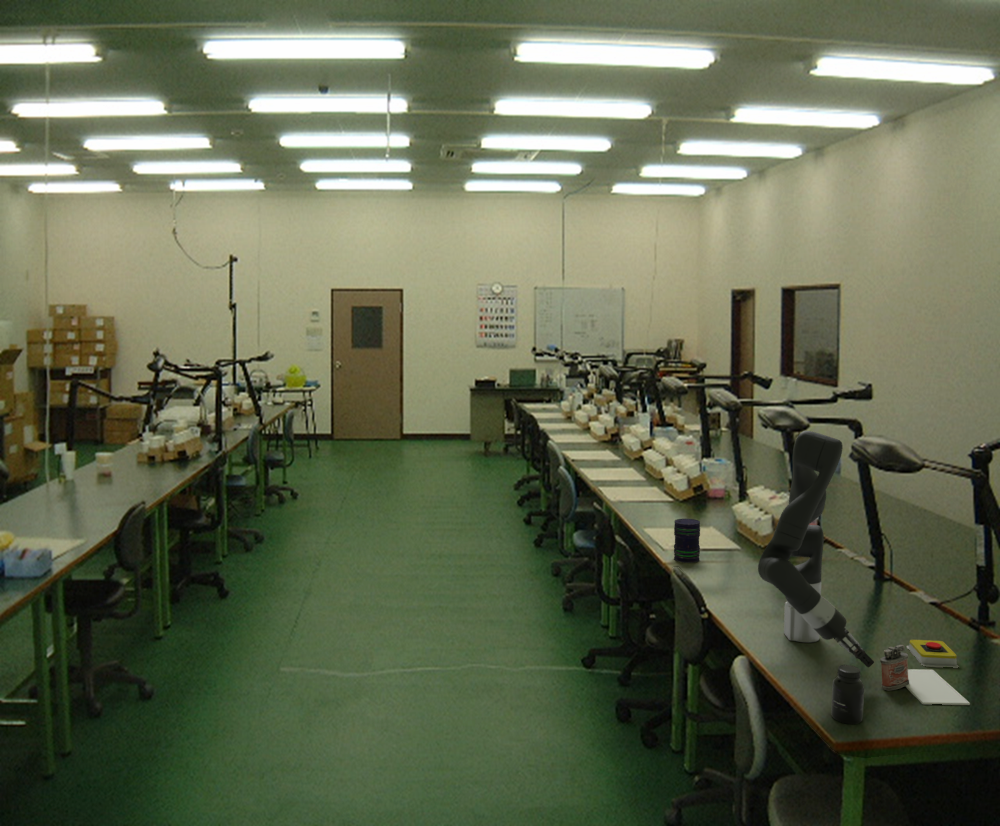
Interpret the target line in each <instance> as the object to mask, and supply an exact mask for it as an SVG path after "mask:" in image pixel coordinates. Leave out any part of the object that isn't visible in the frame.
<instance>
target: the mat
mask: <svg viewBox="0 0 1000 826" xmlns="http://www.w3.org/2000/svg"><path fill="white" fill-rule="evenodd" d="M908 679H909V684H908V685H907V686H904V687H905V688H906V689H907V690H908V691H909V692H910V693H911V694H912V695H913V696H914V697H915V698H916V699H917V701H918V702H919V703H921V704H922V705H932V704H942V705H943V706H944V705H945V706H951V705H952V706H971V705H970V704H971V702H969V701H968V700H967V698H965V697H964V696H963V695H961V693H959V692H958V691H957V690H956V689H955V688H954V687H953V686H952V685H950V684H949V683H948V681H946V680H945V679H944V678H942V677H941V675H939V674H938V673H937V672H936V671H935V670H934V669H920V668H919V669H916V668H915V669H913V668H912V669H909V668H908ZM942 705H941V706H942Z"/></svg>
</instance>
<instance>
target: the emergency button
mask: <svg viewBox="0 0 1000 826" xmlns="http://www.w3.org/2000/svg"><path fill="white" fill-rule="evenodd" d="M906 649H907V650H908V649H909V650H910V651H909V650H908V651H909V652H910V653H911V654H912V655H913V657H914V656H915V657H916V658H915V657H914V658H915V659H916V660H917V661H918V663H919V664H920V663H921V664H920V665H921V666H922V665H923V667H925V666H926V668H927V667H928V668H943V667H945V666H947V667H953V668H952V669H958V667H959V668H960V666H959V665H958V660H957V659H958V657H957V654H956V653H955V651H953V650H952V649H951V648H950V647H949V646H948V645H947V644H946V643H945V642H944V641H943V640H929V639H928V640H925V639H910V640H909V644H908V645H906Z"/></svg>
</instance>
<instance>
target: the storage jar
mask: <svg viewBox="0 0 1000 826" xmlns="http://www.w3.org/2000/svg"><path fill="white" fill-rule="evenodd" d="M700 524H701V521H700V520H698V519H695V518H677V519H675V520H674V525H673V534H674V544H673V555H674V556H673V560H674V561H676V562H679V563H684V564H685V563H688V564H689V563H690V564H691V563H697V562H699V561H700V553H701V546H700V536H701V525H700Z"/></svg>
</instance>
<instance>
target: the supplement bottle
mask: <svg viewBox="0 0 1000 826" xmlns="http://www.w3.org/2000/svg"><path fill="white" fill-rule="evenodd" d="M831 691H832V693H831V710H830V712H831V713H830V714H831V717H832V718H833V719H834V720H835V721H837V722H840V723H841V724H847V725H857V724H859V723H860V724H861V722H862V721H863V718H864V703H865V701H864V700H865V684H864V683H863V681H862V680H861V669H860V668H859V667H857V666H854V665H851V664H840V665H838V668H837V676H836V677H834V679H833V680H832V690H831Z"/></svg>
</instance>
